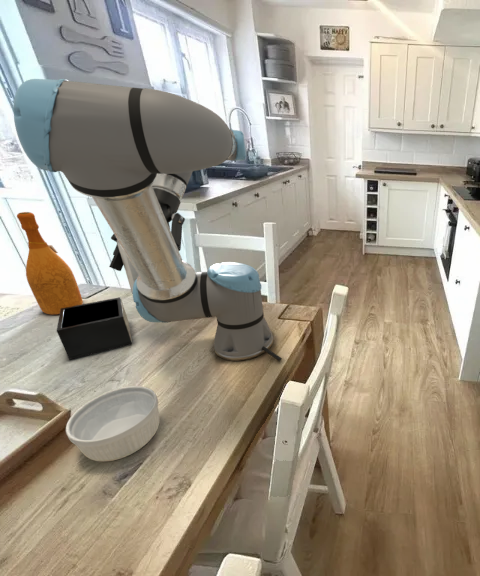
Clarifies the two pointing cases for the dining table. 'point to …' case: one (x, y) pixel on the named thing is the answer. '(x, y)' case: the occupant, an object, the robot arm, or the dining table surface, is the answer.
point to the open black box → (93, 328)
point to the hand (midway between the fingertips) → (134, 271)
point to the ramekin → (115, 423)
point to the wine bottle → (48, 271)
